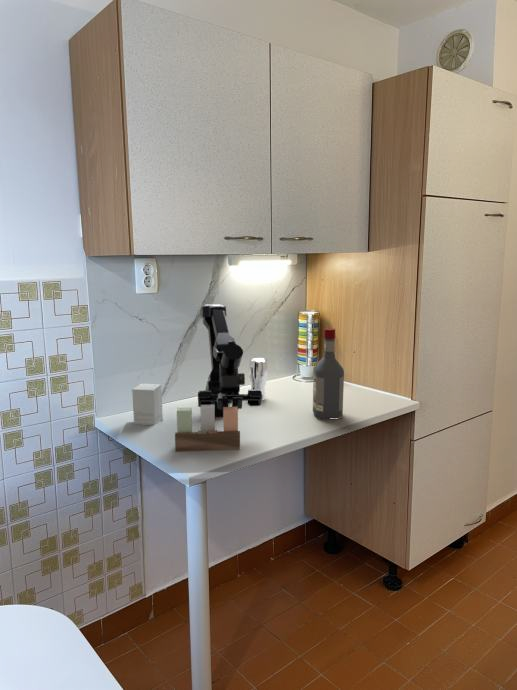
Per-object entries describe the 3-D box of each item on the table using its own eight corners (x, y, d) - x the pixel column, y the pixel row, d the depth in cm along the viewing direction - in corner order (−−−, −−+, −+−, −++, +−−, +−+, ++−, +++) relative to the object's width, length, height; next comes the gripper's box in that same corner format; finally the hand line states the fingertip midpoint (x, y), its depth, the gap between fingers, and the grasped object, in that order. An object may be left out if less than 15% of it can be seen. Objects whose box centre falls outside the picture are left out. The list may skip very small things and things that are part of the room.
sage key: (178, 444, 155) (177, 407, 153) (192, 443, 155) (191, 407, 153) (177, 448, 152) (176, 410, 150) (192, 447, 152) (191, 410, 150)
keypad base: (177, 443, 158) (176, 423, 157) (238, 442, 160) (238, 421, 158) (175, 455, 150) (174, 433, 149) (240, 453, 151) (240, 431, 150)
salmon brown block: (223, 443, 156) (223, 407, 153) (237, 443, 156) (237, 406, 154) (223, 447, 153) (223, 410, 150) (237, 447, 153) (237, 409, 151)
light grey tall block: (201, 440, 158) (200, 404, 155) (214, 440, 158) (214, 404, 156) (201, 444, 155) (200, 407, 153) (215, 444, 155) (214, 407, 153)
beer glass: (261, 395, 209) (261, 357, 206) (270, 399, 203) (271, 360, 200) (245, 397, 205) (245, 359, 202) (254, 402, 199) (254, 362, 196)
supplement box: (163, 421, 178) (162, 384, 176) (154, 428, 171) (153, 390, 169) (142, 419, 180) (141, 382, 177) (133, 426, 173) (131, 388, 170)
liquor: (336, 411, 189) (339, 326, 184) (344, 419, 180) (347, 331, 175) (311, 411, 188) (313, 327, 182) (317, 420, 179) (319, 331, 174)
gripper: (197, 364, 156) (197, 412, 147) (261, 362, 158) (264, 410, 149) (198, 383, 165) (198, 429, 157) (259, 382, 167) (262, 428, 158)
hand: (230, 424), depth 155 cm, fingers closed, pressing on salmon brown block
